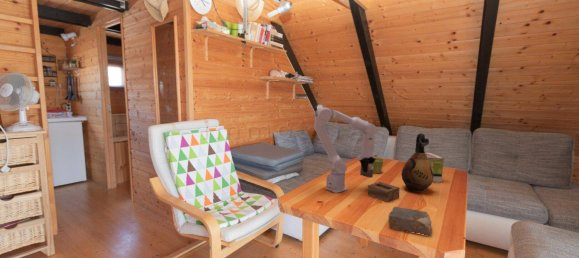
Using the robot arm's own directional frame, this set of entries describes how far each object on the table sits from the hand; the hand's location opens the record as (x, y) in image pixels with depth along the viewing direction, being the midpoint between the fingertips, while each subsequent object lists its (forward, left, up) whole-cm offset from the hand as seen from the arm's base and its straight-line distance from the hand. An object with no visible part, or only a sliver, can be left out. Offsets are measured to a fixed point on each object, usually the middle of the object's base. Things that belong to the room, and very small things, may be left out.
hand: (366, 171), depth 145 cm
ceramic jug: (+22, -16, -10) cm, 29 cm away
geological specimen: (-21, -36, -10) cm, 43 cm away
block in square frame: (-2, -12, -9) cm, 15 cm away
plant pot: (+32, +16, -10) cm, 37 cm away
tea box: (+47, -10, -10) cm, 49 cm away
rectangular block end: (0, 0, -2) cm, 2 cm away
